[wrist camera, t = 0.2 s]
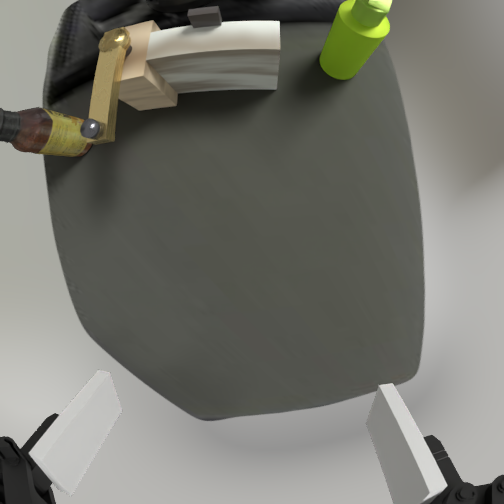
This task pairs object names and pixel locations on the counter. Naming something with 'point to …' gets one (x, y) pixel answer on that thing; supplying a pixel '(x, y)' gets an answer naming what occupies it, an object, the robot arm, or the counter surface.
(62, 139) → the sauce bottle
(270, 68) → the door frame
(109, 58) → the swing bar
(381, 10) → the soap dispenser
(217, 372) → the counter surface
